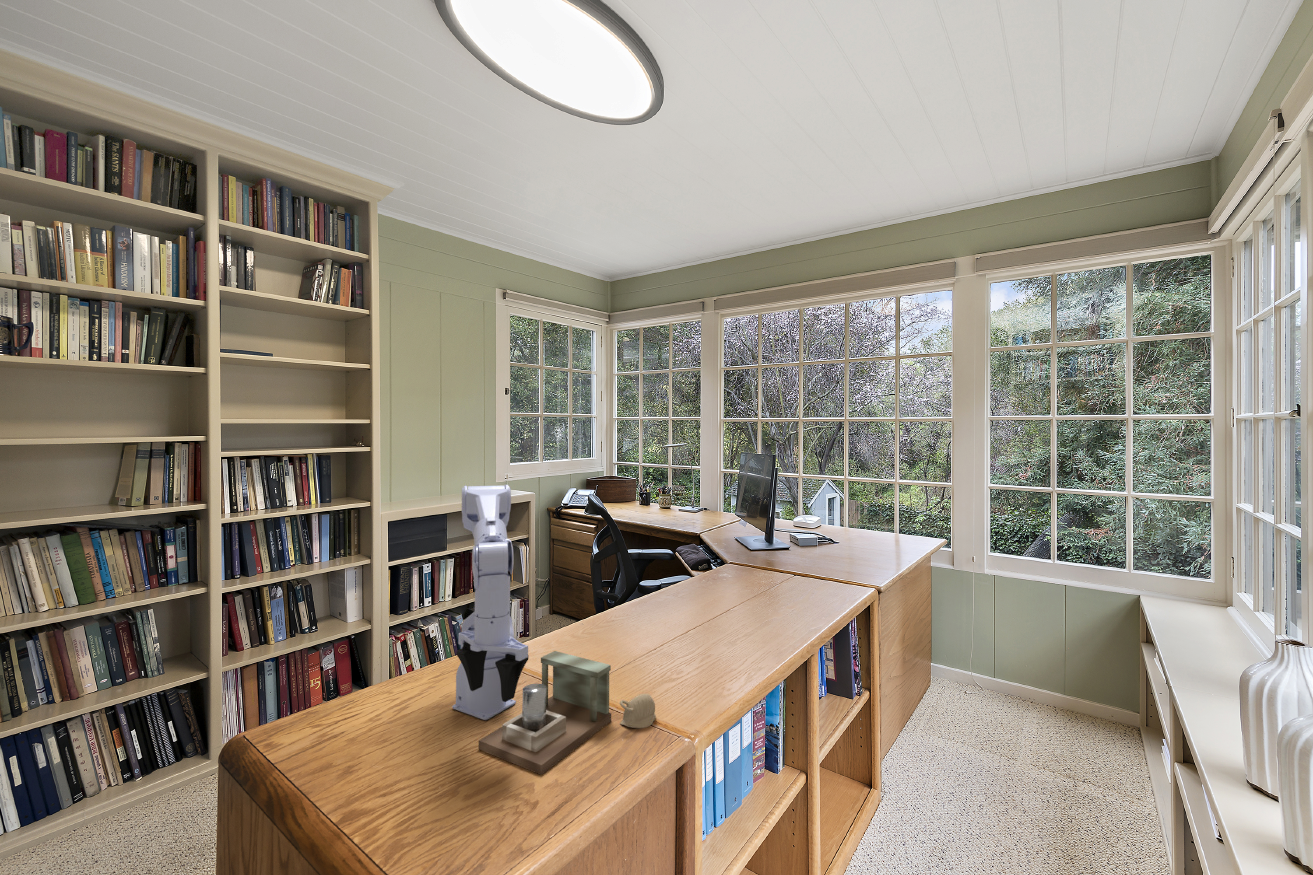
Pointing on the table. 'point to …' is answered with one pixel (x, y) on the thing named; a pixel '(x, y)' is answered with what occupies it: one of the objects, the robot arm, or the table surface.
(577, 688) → the socket stand
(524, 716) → the steel peg
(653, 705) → the decorative ornament
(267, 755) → the table surface
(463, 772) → the table surface
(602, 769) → the table surface
